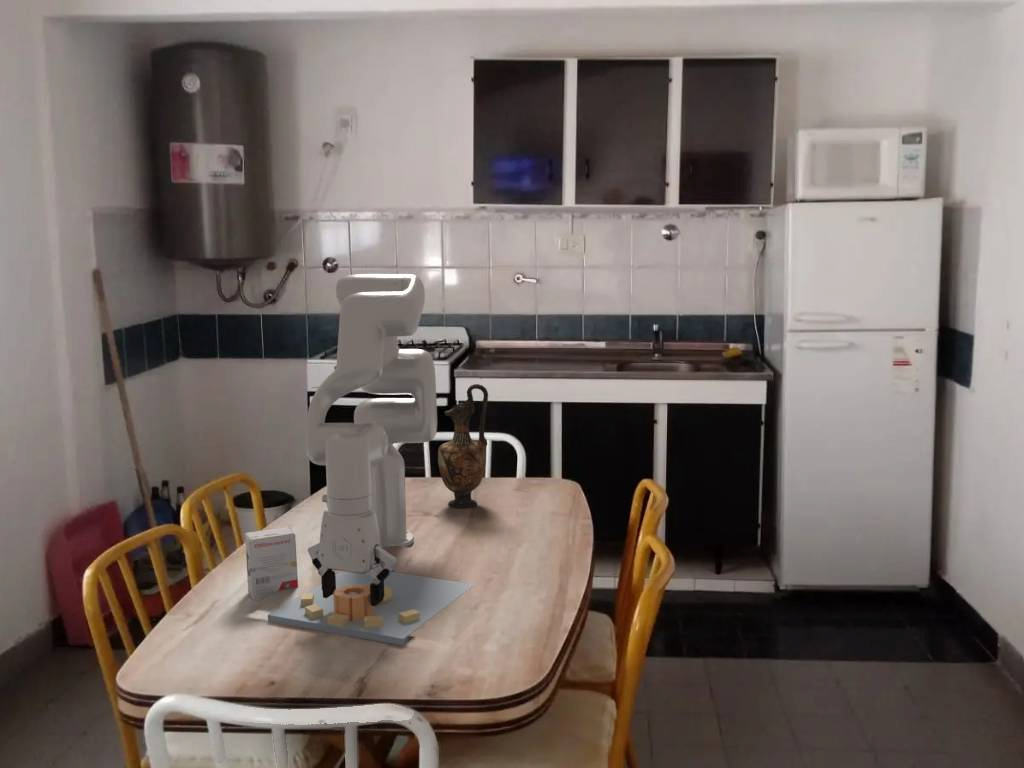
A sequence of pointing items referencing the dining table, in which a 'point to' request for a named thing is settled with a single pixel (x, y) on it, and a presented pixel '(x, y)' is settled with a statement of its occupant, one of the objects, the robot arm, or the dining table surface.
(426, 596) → the carrier board
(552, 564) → the dining table surface
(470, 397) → the vase
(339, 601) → the planet gear
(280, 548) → the ink box
